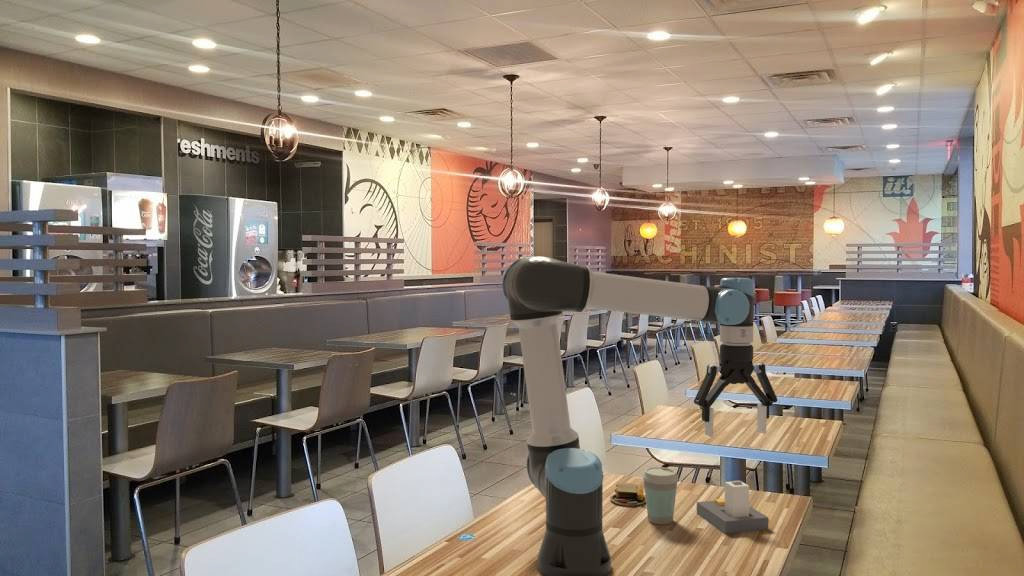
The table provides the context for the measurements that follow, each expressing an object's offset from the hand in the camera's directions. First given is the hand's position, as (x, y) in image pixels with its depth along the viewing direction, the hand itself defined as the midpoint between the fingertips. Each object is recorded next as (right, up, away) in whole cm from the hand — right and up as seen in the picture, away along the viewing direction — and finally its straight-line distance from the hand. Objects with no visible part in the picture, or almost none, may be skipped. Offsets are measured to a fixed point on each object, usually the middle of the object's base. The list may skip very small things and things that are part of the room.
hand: (735, 434), depth 174 cm
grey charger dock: (0, -22, +3) cm, 22 cm away
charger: (+1, -22, +1) cm, 22 cm away
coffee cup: (-17, -22, +5) cm, 28 cm away
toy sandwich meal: (-22, -22, +20) cm, 37 cm away
